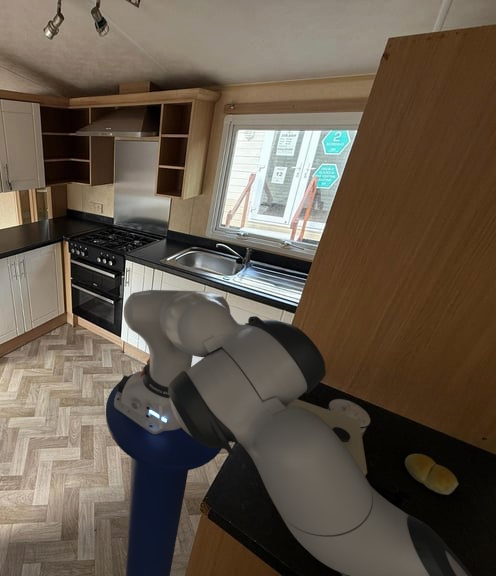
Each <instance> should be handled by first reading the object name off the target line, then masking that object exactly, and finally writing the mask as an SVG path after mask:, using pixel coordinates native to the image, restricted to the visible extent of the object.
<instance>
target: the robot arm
mask: <svg viewBox="0 0 496 576" xmlns="http://www.w3.org/2000/svg"><path fill="white" fill-rule="evenodd" d="M123 318H124V321H125V323H126V325H127V327H128V328H129V330H131V331H132V332H134V333H136V334H137V335H138V336H139V337H140V338H141V339H142V340H143V341H144V343H146V345H147V348H148V352H149V358H148V359H147V361H146V364H145V365H144V366H143V369H142V370H139V371H136V372H134V373H132V374H133V375H132V374H131V375H132V376H131V377H128V376H129V375H124V376H123V377H122V379H121V380H120V381H119V382H120V383H119V382H118V383H119V384H118V383H117V384H118V392H117V394H116V396H115V399H114V407H115V408H116V409H117V410H119V411H120V412H122V413H123V414H124V415H126V416H127V417H129V418H130V419H132V420H133V421H135V422H136V423H137V424H139V425H140V426H142V427H143V428H145V429H146V430H148V431H149V432H150V433H152V434H158V433H161V432H163V431H170V430H176V429H179V428H181V427H182V429H183V430H184V431H185V432H187V433H188V434H189V435H190V436H192V437H193V438H194V440H195V441H197V442H199V443H201V444H203V445H205V446H208V447H210V448H219V449H221V450H226V452H227V454H229V455H235V452H234V450H233V448H232V446H231V445H230V443H235V444H240V445H241V446H242V447H243V448H244V449H245V450H246V452H247V453H248V455H249V456H250V458H251V459H252V461H253V463H254V465H255V468H256V470H257V471H258V474H259V476H260V479H261V481H262V483H263V485H264V487H265V489H266V492H267V494H268V495H269V497H270V500H271V501H272V503H273V505H274V506H275V508H276V510H277V512H278V513H279V515H280V517H281V518H282V521H283V522H284V524H285V525H286V528H288V530H289V531H290V533H291V534H292V535H293V537H294V538H295V539H296V541H297V542H298V543H299V544H300V545H301V546H302V547H303V548H304V549H305V550H306V551H308V552H309V554H310V555H312V557H314V558H315V559H316V560H317V561H319V562H320V563H322V564H323V565H325V566H327V567H328V568H330V569H332V570H334V571H336V572H338V573H340V575H341V576H473V574H471V572H470V571H469V570H468V569H467V567H466V566H465V565H464V563H462V561H461V560H460V559H459V557H458V556H457V555H456V554H455V553H454V552H453V551H452V549H451V547H449V546H448V544H447V543H446V542H445V541H444V540H443V539H442V537H440V535H438V534H437V532H436V531H434V530H433V528H431V527H430V525H428V524H427V523H425V522H424V521H421V520H420V519H419V518H416V517H415V516H412V515H410V514H408V513H406V512H405V511H403V510H400V509H399V508H397V507H396V506H394V505H393V504H391V503H390V500H388V499H385V498H383V497H382V496H381V495H380V494H379V493H378V492H376V491H375V490H374V489H373V488H372V487H371V485H370V484H369V483H370V482H369V481H368V479H367V477H366V476H365V475H364V474H363V472H362V470H361V469H360V467H359V465H358V464H357V462H356V461H355V459H354V458H353V456H352V455H351V453H350V452H349V451H348V449H347V448H346V446H345V445H344V444H343V443H342V441H341V440H340V439H339V438H338V436H337V435H336V434H335V433H334V431H333V430H332V429H331V428H330V427H329V426H328V425H327V424H326V422H325V421H324V420H323V419H322V418H320V417H319V416H318V415H316V414H315V413H313V412H312V411H310V410H307V409H305V408H302V407H298V406H290V405H289V404H290V403H292V402H293V401H294V400H296V399H299V398H300V397H301V396H302V395H303V394H309V393H311V392H312V391H313V390H314V389H315V388H317V386H318V385H319V384H320V383H321V382H322V381H323V379H324V378H325V376H326V374H327V372H326V371H327V370H326V363H325V359H324V357H323V355H322V352H321V351H320V350H319V348H318V347H317V345H316V344H315V342H313V340H312V339H311V338H310V337H309V335H307V334H306V333H305V332H304V331H303V330H301V329H300V328H299V327H297V326H296V325H294V324H292V323H288V322H285V321H282V320H277V319H261V318H260V317H258V316H257V315H253V316H249V317H248V320H247V322H246V323H239V322H238V321H237V320H235V319H234V317H233V315H232V314H231V308H230V305H229V303H228V301H227V300H226V298H225V297H224V296H223V295H222V294H218V293H214V292H209V291H204V290H177V289H175V290H173V289H172V290H170V289H169V290H168V289H147V290H141V291H135V292H132V293H131V294H130V295H129V296H128V298H127V299H126V300H125V303H124V306H123ZM193 356H194V357H198V358H201V359H200V360H199V361H197V362H195V364H193ZM192 364H193V365H192ZM117 399H118V400H117Z"/></svg>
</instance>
